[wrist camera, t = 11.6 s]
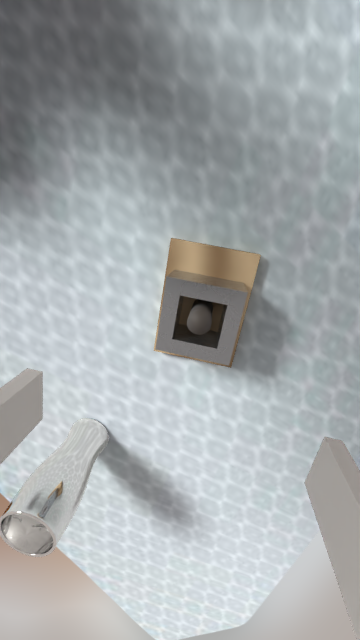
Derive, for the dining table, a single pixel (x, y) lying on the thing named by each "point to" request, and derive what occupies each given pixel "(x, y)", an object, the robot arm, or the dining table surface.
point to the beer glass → (53, 492)
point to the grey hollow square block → (212, 342)
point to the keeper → (214, 264)
